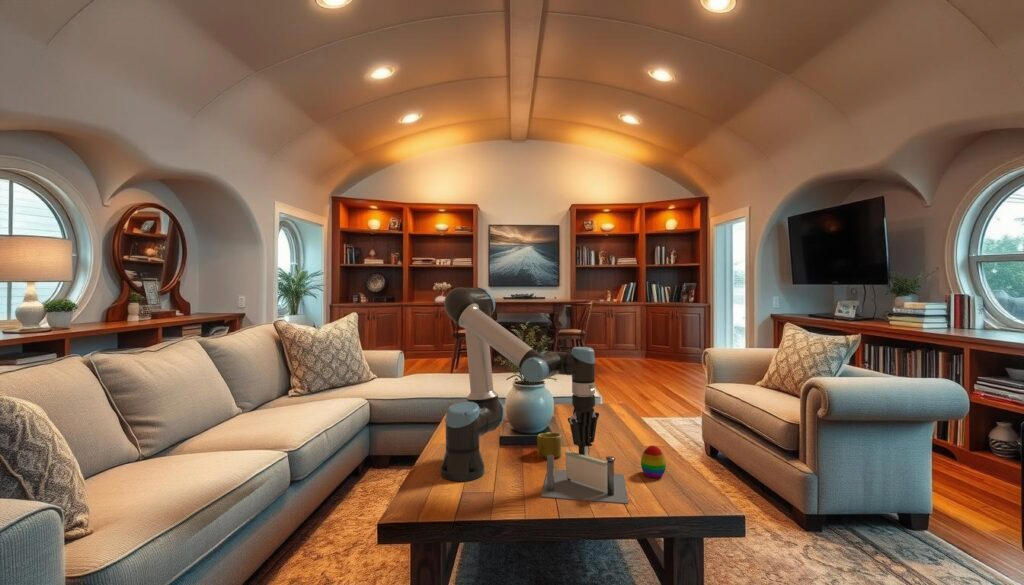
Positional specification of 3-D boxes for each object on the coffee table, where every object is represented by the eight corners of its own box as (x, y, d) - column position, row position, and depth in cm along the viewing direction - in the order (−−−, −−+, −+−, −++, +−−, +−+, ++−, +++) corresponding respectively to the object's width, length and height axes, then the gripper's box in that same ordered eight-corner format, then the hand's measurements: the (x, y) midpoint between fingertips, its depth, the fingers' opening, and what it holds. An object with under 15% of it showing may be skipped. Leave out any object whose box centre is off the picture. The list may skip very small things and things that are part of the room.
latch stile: (546, 492, 146) (547, 457, 145) (547, 488, 148) (547, 454, 148) (555, 493, 145) (555, 457, 145) (555, 489, 148) (556, 454, 148)
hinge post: (606, 496, 142) (606, 459, 142) (605, 493, 145) (605, 456, 145) (615, 497, 142) (615, 459, 142) (615, 493, 145) (615, 456, 145)
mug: (564, 457, 171) (557, 429, 174) (538, 463, 173) (531, 436, 176) (569, 452, 183) (562, 427, 185) (544, 458, 185) (537, 433, 187)
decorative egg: (668, 473, 161) (668, 444, 161) (662, 481, 154) (662, 451, 154) (644, 468, 165) (644, 440, 165) (638, 476, 158) (638, 447, 158)
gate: (607, 491, 145) (607, 461, 145) (604, 493, 144) (604, 463, 144) (568, 478, 155) (568, 450, 155) (565, 479, 154) (565, 451, 154)
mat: (541, 497, 142) (541, 496, 142) (548, 469, 164) (548, 469, 164) (628, 503, 138) (628, 502, 138) (623, 475, 159) (623, 474, 159)
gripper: (578, 399, 146) (578, 473, 147) (605, 393, 154) (605, 463, 155) (561, 395, 152) (562, 466, 153) (588, 389, 160) (589, 457, 161)
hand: (584, 465), depth 154 cm, fingers closed
